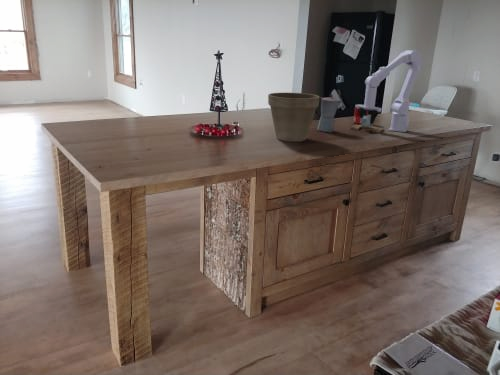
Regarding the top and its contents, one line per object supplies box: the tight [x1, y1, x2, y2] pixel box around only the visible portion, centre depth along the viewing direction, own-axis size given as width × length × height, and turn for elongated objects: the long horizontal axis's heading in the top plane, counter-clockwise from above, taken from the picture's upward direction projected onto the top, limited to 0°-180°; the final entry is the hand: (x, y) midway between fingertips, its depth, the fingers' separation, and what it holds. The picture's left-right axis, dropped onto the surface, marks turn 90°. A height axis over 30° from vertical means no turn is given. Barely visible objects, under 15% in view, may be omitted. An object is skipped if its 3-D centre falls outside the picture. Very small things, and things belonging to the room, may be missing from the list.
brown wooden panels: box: [350, 124, 384, 134], centre depth 256 cm, size 16×11×1 cm
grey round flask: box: [360, 114, 373, 127], centre depth 252 cm, size 9×6×6 cm, turn 133°
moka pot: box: [315, 94, 343, 133], centre depth 244 cm, size 10×15×20 cm, turn 78°
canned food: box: [353, 104, 369, 125], centre depth 272 cm, size 8×8×11 cm
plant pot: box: [267, 92, 320, 143], centre depth 221 cm, size 25×25×22 cm
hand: (367, 122), depth 253 cm, fingers closed on grey round flask, 6 cm apart
